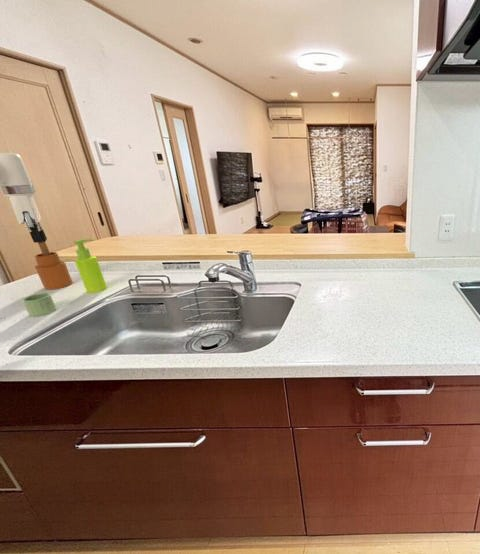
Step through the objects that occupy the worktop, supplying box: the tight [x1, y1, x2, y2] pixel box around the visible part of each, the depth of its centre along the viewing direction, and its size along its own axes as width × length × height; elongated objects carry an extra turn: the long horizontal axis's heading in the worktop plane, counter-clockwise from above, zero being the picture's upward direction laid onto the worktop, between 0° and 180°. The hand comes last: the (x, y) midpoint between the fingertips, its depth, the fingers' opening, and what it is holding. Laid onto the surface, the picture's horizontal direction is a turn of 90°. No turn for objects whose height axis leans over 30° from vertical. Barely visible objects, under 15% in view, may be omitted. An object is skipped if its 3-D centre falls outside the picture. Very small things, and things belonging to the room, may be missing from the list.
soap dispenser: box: [73, 238, 108, 294], centre depth 110 cm, size 6×7×20 cm
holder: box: [21, 292, 58, 318], centre depth 96 cm, size 6×6×6 cm
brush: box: [37, 241, 51, 256], centre depth 112 cm, size 4×4×18 cm
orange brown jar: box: [34, 251, 74, 291], centre depth 115 cm, size 8×8×13 cm
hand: (40, 240), depth 111 cm, fingers closed on brush, 2 cm apart
